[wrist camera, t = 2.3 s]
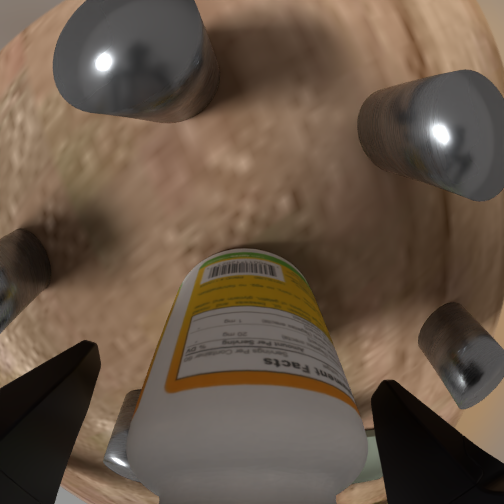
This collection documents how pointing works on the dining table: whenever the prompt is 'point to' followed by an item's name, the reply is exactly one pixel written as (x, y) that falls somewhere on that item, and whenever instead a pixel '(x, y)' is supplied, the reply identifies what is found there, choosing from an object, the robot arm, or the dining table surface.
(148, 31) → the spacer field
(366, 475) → the mat
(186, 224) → the dining table surface
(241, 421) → the supplement bottle
